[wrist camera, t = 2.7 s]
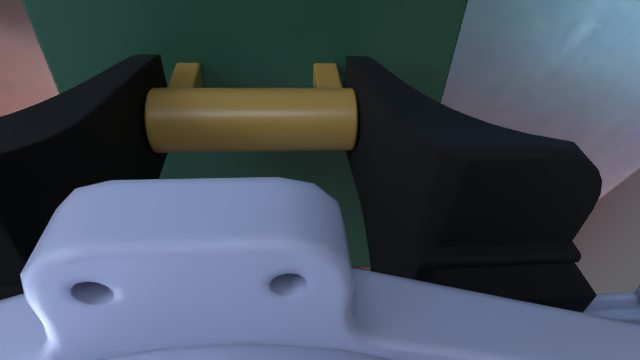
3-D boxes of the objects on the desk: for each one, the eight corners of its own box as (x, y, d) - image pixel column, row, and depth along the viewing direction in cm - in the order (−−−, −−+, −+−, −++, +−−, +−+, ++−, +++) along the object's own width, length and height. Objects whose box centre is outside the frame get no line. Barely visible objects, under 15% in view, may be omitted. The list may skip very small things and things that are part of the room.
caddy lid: (394, 254, 20) (416, 334, 17) (135, 264, 19) (109, 351, 16) (484, -101, 11) (569, -68, 8) (-12, -123, 10) (-146, -95, 7)
